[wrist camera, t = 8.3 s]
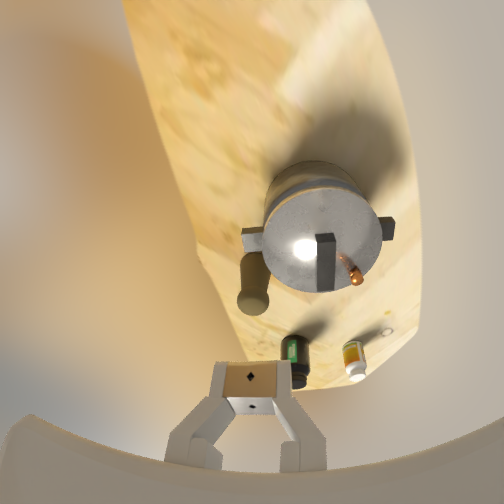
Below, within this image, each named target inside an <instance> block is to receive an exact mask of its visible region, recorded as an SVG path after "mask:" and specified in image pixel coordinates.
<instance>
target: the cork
mask: <svg viewBox="0 0 504 504" xmlns="http://www.w3.org/2000/svg"><path fill="white" fill-rule="evenodd" d="M240 271H241V291H240V293H239V295H238V298H237V304H238V307H239V309H240V310H241V311H242V312H243V313H244V314H247V315H250V316H257V315H260V314H262V313H264V312H265V311H266V310H267V308H268V306H269V296H268V294H267V288H268V284H269V280H270V275H271V272H270V270H269V269H268V267H267V265H266V263H265V260H264V257H263V254H262V253H250V254H247V255H246V256H244V257H243V258H242V260H241V264H240Z"/></svg>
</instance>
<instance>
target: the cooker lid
mask: <svg viewBox="0 0 504 504" xmlns="http://www.w3.org/2000/svg"><path fill="white" fill-rule="evenodd" d="M381 246H382V228H381V224H380V222H379V219H378V217H377V215H376V214H375V212H374V211H373V209H372V208H371V206H370V205H369V204H368V203H367V201H366V200H365V199H363V198H362V197H361V196H360V195H358V194H356V193H355V192H353V191H351V190H348V189H346V188H342V187H338V186H330V185H321V186H313V187H309V188H305V189H302V190H300V191H297V192H295V193H293V194H292V195H290V196H288V197H287V198H286V199H284V200H283V201H282V202H281V203H279V204H278V205H277V206H276V208H275V209H274V210H273V211H272V213H271V214H270V216H269V218H268V219H267V222H266V224H265V227H264V231H263V239H262V253H263V257H264V260H265V263H266V265H267V267H268V269H269V270H270V272H271V273H272V274H273V275H274V276H275V277H276V278H277V279H278V280H279V281H281V282H282V283H283V284H285V285H287V286H289V287H291V288H293V289H296V290H300V291H304V292H310V293H324V292H331V291H335V290H339V289H342V288H344V287H347V286H349V285H351V284H352V285H354V286H358V285H360V284H362V283H363V281H364V279H363V276H364V275H365V274H366V273H367V272H368V271H369V270H370V269H371V267H372V266H373V265H374V263H375V262H376V260H377V258H378V256H379V253H380V250H381Z"/></svg>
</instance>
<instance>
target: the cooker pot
mask: <svg viewBox="0 0 504 504" xmlns="http://www.w3.org/2000/svg"><path fill="white" fill-rule="evenodd" d="M321 185H330V186H338V187H342V188H346V189H348V190H351V191H353V192H355V193H356V194H358V195H360V196H361V197H362V198H363V199H365V200H366V198H365V197H364V195H363V194H362V192H361V191H360V189H359V188H358V187H357V185H356V184H355V182H354V181H353V179H352V178H351V177H350V176H349V175H348V174H347V173H346V172H345V171H344V170H343V169H341V168H339V167H338V166H336V165H333V164H331V163H327V162H323V161H306V162H301V163H298V164H295V165H293V166H291V167H289V168H287V169H285V170H284V171H283V172H281V173H280V174H279V175H278V176H277V177H276V178H275V179H274V181H273V182H272V184H271V185H270V187H269V189H268V192H267V194H266V198H265V209H264V224H263V227H252V228H242V233H241V236H242V241H243V246H244V251H245V252H256V251H262V239H263V231H264V227H265V224H266V222H267V219H268V218H269V216H270V214H271V213H272V211H273V210H274V209H275V208H276V206H277V205H278V204H279V203H281V202H282V201H283V200H284V199H286V198H287V197H288V196H290V195H292V194H293V193H295V192H297V191H300V190H302V189H305V188H309V187H313V186H321ZM366 201H367V200H366ZM367 203H368V201H367ZM368 204H369V203H368ZM369 205H370V204H369ZM378 219H379V222H380V224H381V228H382V241H388V240H393V236H394V229H395V221H394V219H393V218H392V217H378Z"/></svg>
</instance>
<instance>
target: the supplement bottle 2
mask: <svg viewBox="0 0 504 504" xmlns="http://www.w3.org/2000/svg"><path fill="white" fill-rule="evenodd" d="M342 350H343V356H344V363H345V369H346V372H347V373H348V374H349V377H350V380H351V381H353V382H356V381H360V380H363V379H364V378H365V377H366V374H365V369H366V367H367V365H366V360H365V355H364V350H363V346H362V343H361V342H359V341H351V342H348V343H346V344H345V345H344V346H343V348H342Z"/></svg>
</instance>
